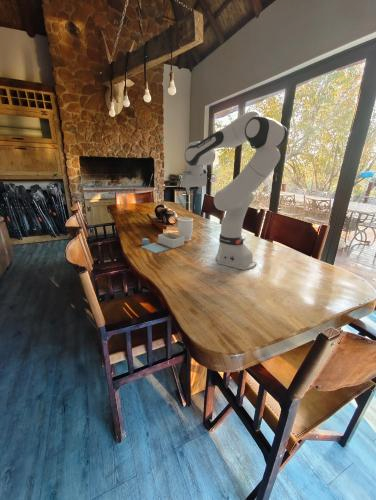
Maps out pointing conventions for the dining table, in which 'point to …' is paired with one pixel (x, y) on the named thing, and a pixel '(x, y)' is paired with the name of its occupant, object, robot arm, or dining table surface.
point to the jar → (185, 227)
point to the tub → (171, 240)
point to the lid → (152, 246)
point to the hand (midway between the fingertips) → (193, 194)
